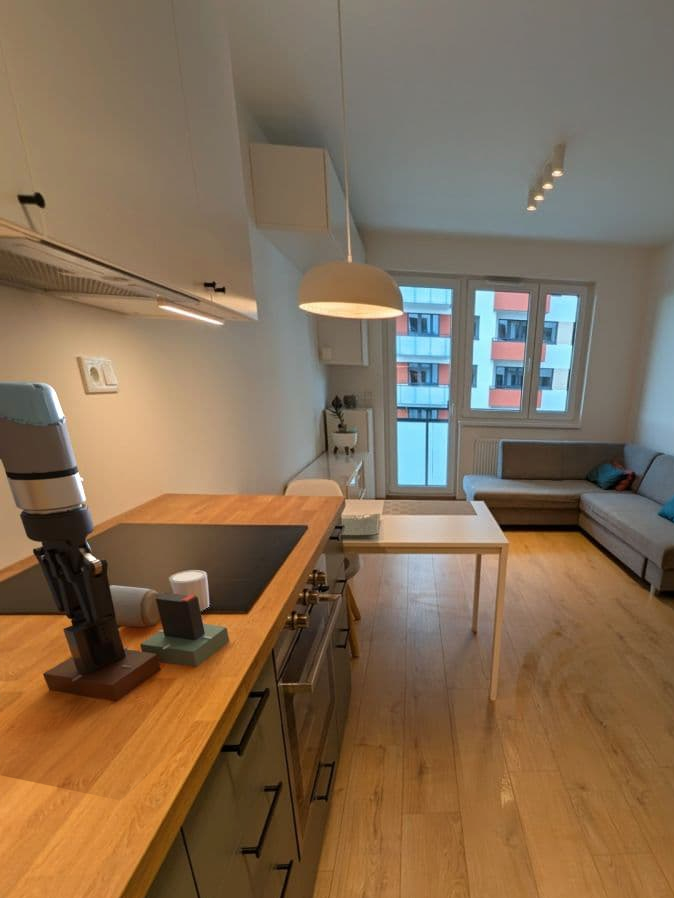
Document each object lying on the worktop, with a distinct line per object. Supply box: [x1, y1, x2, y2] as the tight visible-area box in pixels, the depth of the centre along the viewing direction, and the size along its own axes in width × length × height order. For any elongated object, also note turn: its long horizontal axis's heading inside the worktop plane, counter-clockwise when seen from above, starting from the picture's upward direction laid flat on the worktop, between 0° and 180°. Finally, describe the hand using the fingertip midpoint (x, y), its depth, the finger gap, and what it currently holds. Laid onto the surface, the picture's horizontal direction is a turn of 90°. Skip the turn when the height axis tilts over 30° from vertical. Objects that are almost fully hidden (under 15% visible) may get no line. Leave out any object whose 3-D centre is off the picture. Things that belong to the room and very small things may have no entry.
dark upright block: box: [156, 592, 205, 640], centre depth 85 cm, size 6×2×7 cm, turn 78°
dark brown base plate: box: [42, 645, 162, 702], centre depth 79 cm, size 12×10×3 cm
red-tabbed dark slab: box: [62, 619, 126, 674], centre depth 77 cm, size 6×2×7 cm, turn 153°
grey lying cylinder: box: [109, 584, 161, 628], centre depth 96 cm, size 11×8×8 cm
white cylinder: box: [168, 569, 211, 613], centre depth 102 cm, size 7×7×7 cm
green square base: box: [139, 620, 230, 668], centre depth 87 cm, size 10×10×3 cm
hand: (100, 657), depth 78 cm, fingers closed on red-tabbed dark slab, 2 cm apart
